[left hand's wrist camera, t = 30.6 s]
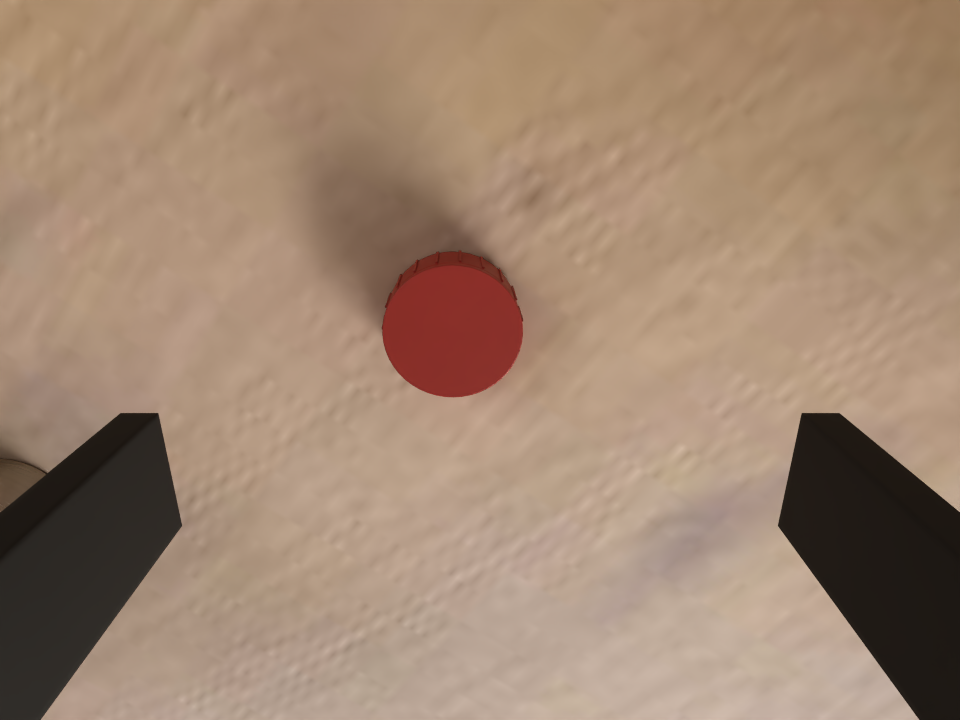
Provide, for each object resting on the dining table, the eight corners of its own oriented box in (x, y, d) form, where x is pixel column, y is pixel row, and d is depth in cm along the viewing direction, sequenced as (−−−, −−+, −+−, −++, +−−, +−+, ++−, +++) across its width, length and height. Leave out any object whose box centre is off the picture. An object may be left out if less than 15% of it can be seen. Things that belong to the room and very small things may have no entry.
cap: (543, 291, 22) (552, 308, 20) (476, 395, 23) (478, 421, 21) (427, 224, 21) (424, 236, 19) (365, 337, 22) (356, 359, 20)
